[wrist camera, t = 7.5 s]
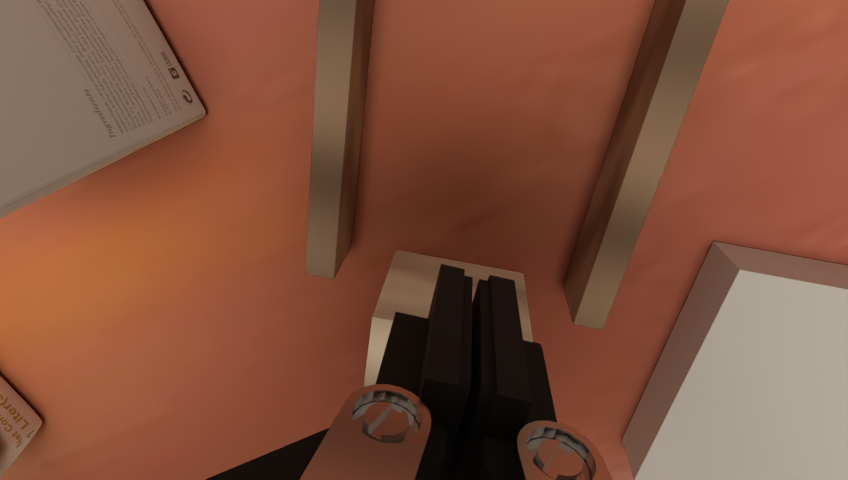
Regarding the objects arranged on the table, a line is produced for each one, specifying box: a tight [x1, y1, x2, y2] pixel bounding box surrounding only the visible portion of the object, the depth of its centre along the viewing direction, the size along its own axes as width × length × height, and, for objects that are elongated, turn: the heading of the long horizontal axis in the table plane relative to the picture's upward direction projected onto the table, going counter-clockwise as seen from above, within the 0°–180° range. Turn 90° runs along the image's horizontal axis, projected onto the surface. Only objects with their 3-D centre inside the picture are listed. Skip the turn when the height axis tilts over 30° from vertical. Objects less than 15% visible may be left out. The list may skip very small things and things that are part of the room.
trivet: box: [622, 241, 848, 480], centre depth 23 cm, size 12×10×2 cm
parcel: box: [363, 250, 533, 387], centre depth 23 cm, size 9×6×6 cm
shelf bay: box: [305, 0, 729, 330], centre depth 17 cm, size 21×12×3 cm, turn 171°
